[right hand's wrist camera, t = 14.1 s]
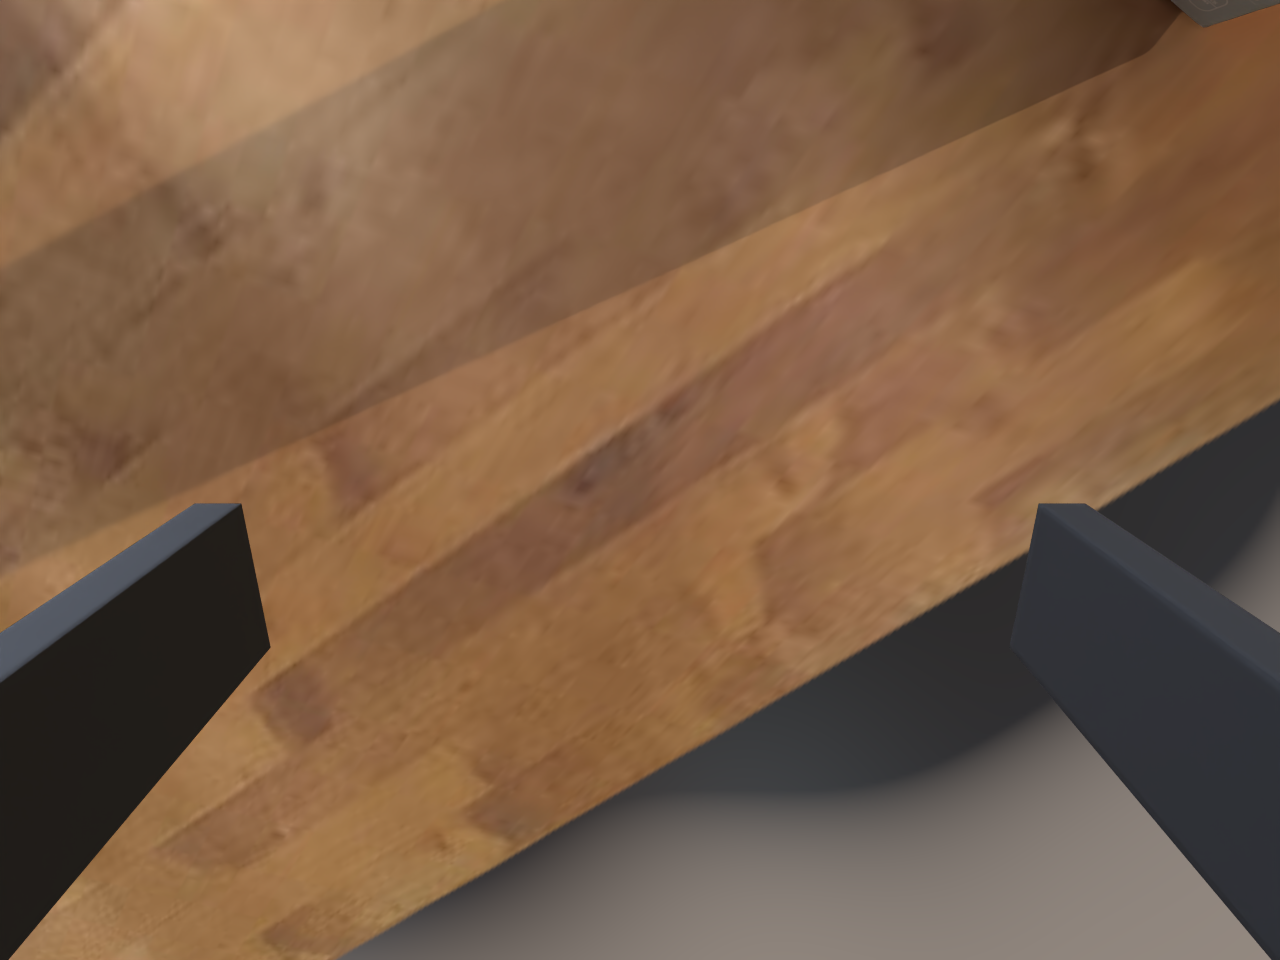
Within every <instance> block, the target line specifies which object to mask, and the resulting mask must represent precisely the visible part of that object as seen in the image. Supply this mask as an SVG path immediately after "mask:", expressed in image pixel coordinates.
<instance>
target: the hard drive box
mask: <svg viewBox="0 0 1280 960" xmlns="http://www.w3.org/2000/svg"><path fill="white" fill-rule="evenodd" d="M1171 1H1172V2H1173V3H1174V4H1175V5H1177V6H1178V7H1179V8H1180V9H1181V10H1182V11H1183V12H1185V13H1186V14H1187V15H1188V16H1189V17H1190V18H1192V19H1193V20H1194V21H1195V22H1196V23H1198V24H1199V25H1200V26H1202V27H1209V26H1211V25H1214V24H1217V23H1220V22H1223V21H1227V20H1230V19H1233V18H1236V17H1239V16H1242V15H1245V14H1248V13H1251V12H1254V11H1257V10H1260V9H1263V8H1267V7H1270V6H1273V5H1276V4H1279V3H1280V0H1171Z"/></svg>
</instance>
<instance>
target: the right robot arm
mask: <svg viewBox="0 0 1280 960" xmlns="http://www.w3.org/2000/svg"><path fill="white" fill-rule="evenodd" d="M269 649H270V642H269V637H268V633H267V628H266V623H265V618H264V613H263V608H262V603H261V598H260V593H259V588H258V583H257V578H256V574H255V569H254V564H253V559H252V554H251V549H250V544H249V539H248V534H247V529H246V524H245V519H244V515H243V510H242V505H241V504H193V505H192V506H190V507H189V508H187V509H186V510H184V511H183V512H181V513H180V514H178V515H177V516H175V517H174V518H172V519H171V520H169V521H168V522H166V523H165V524H163V525H162V526H160V527H159V528H157V529H156V530H154V531H153V532H151V533H150V534H148V535H147V536H145V537H144V538H142V539H141V540H139V541H138V542H136V543H135V544H133V545H132V546H130V547H129V548H127V549H126V550H124V551H123V552H121V553H120V554H118V555H117V556H115V557H114V558H112V559H111V560H109V561H108V562H106V563H105V564H103V565H102V566H100V567H99V568H97V569H96V570H94V571H93V572H91V573H90V574H88V575H87V576H85V577H84V578H82V579H81V580H79V581H78V582H76V583H75V584H73V585H72V586H70V587H69V588H67V589H66V590H64V591H63V592H61V593H60V594H58V595H57V596H55V597H54V598H52V599H51V600H49V601H48V602H46V603H45V604H43V605H42V606H40V607H39V608H37V609H36V610H34V611H33V612H31V613H30V614H28V615H27V616H25V617H24V618H22V619H21V620H19V621H18V622H16V623H15V624H13V625H12V626H10V627H9V628H7V629H6V630H4V631H3V632H1V633H0V960H9V958H10V957H11V956H12V955H13V954H14V952H15V951H16V950H17V949H18V948H19V947H20V945H21V944H22V943H23V942H24V941H25V939H26V938H27V937H28V936H29V935H30V933H31V932H32V931H33V930H34V929H35V927H36V926H37V925H38V924H39V923H40V921H41V920H42V919H43V918H44V917H45V916H46V914H47V913H48V912H49V911H50V910H51V908H52V907H53V906H54V905H55V904H56V902H57V901H58V900H59V899H60V898H61V896H62V895H63V894H64V893H65V892H66V891H67V889H68V888H69V887H70V886H71V885H72V883H73V882H74V881H75V880H76V879H77V877H78V876H79V875H80V874H81V873H82V871H83V870H84V869H85V868H86V867H87V865H88V864H89V863H90V862H91V861H92V860H93V858H94V857H95V856H96V855H97V854H98V852H99V851H100V850H101V849H102V848H103V846H104V845H105V844H106V843H107V842H108V840H109V839H110V838H111V837H112V836H113V835H114V833H115V832H116V831H117V830H118V829H119V827H120V826H121V825H122V824H123V823H124V821H125V820H126V819H127V818H128V817H129V815H130V814H131V813H132V812H133V811H134V809H135V808H136V807H137V806H138V805H139V804H140V802H141V801H142V800H143V799H144V798H145V796H146V795H147V794H148V793H149V792H150V790H151V789H152V788H153V787H154V786H155V784H156V783H157V782H158V781H159V780H160V779H161V777H162V776H163V775H164V774H165V773H166V771H167V770H168V769H169V768H170V767H171V765H172V764H173V763H174V762H175V761H176V759H177V758H178V757H179V756H180V755H181V753H182V752H183V751H184V750H185V749H186V748H187V746H188V745H189V744H190V743H191V742H192V740H193V739H194V738H195V737H196V736H197V734H198V733H199V732H200V731H201V730H202V728H203V727H204V726H205V725H206V724H207V723H208V721H209V720H210V719H211V718H212V717H213V715H214V714H215V713H216V712H217V711H218V709H219V708H220V707H221V706H222V705H223V703H224V702H225V701H226V700H227V699H228V697H229V696H230V695H231V694H232V693H233V692H234V690H235V689H236V688H237V687H238V686H239V684H240V683H241V682H242V681H243V680H244V678H245V677H246V676H247V675H248V674H249V672H250V671H251V670H252V669H253V668H254V666H255V665H256V664H257V663H258V662H259V661H260V659H261V658H262V657H263V656H264V655H265V653H266V652H267V651H268V650H269ZM1010 649H1011V650H1012V651H1013V652H1014V653H1015V654H1016V656H1017V657H1018V658H1019V659H1020V661H1021V662H1022V663H1023V664H1024V665H1025V666H1026V668H1027V669H1028V670H1029V671H1030V672H1031V674H1032V675H1033V676H1034V677H1035V678H1036V680H1037V681H1038V682H1039V683H1040V684H1041V685H1042V687H1043V688H1044V689H1045V690H1046V691H1047V693H1048V694H1049V695H1050V696H1051V697H1052V699H1053V700H1054V701H1055V702H1056V703H1057V705H1058V706H1059V707H1060V708H1061V709H1062V711H1063V712H1064V713H1065V714H1066V715H1067V716H1068V718H1069V719H1070V720H1071V721H1072V723H1073V724H1074V725H1075V726H1076V727H1077V728H1078V730H1079V731H1080V732H1081V733H1082V734H1083V736H1084V737H1085V738H1086V739H1087V740H1088V742H1089V743H1090V744H1091V745H1092V746H1093V748H1094V749H1095V750H1096V751H1097V752H1098V753H1099V755H1100V756H1101V757H1102V758H1103V759H1104V761H1105V762H1106V763H1107V764H1108V765H1109V767H1110V768H1111V769H1112V770H1113V771H1114V773H1115V774H1116V775H1117V776H1118V777H1119V779H1120V780H1121V781H1122V782H1123V783H1124V784H1125V786H1126V787H1127V788H1128V789H1129V790H1130V792H1131V793H1132V794H1133V795H1134V796H1135V798H1136V799H1137V800H1138V801H1139V802H1140V804H1141V805H1142V806H1143V807H1144V808H1145V809H1146V811H1147V812H1148V813H1149V814H1150V815H1151V817H1152V818H1153V819H1154V820H1155V821H1156V822H1157V824H1158V825H1159V826H1160V827H1161V829H1162V830H1163V831H1164V832H1165V833H1166V834H1167V836H1168V837H1169V838H1170V839H1171V840H1172V842H1173V843H1174V844H1175V845H1176V846H1177V848H1178V849H1179V850H1180V851H1181V852H1182V854H1183V855H1184V856H1185V857H1186V858H1187V860H1188V861H1189V862H1190V863H1191V864H1192V865H1193V867H1194V868H1195V869H1196V870H1197V871H1198V873H1199V874H1200V875H1201V876H1202V877H1203V878H1204V880H1205V881H1206V882H1207V883H1208V885H1209V886H1210V887H1211V888H1212V889H1213V891H1214V892H1215V893H1216V894H1217V895H1218V896H1219V898H1220V899H1221V900H1222V901H1223V902H1224V904H1225V905H1226V906H1227V907H1228V908H1229V910H1230V911H1231V912H1232V913H1233V914H1234V916H1235V917H1236V918H1237V919H1238V920H1239V921H1240V923H1241V924H1242V925H1243V926H1244V927H1245V929H1246V930H1247V931H1248V932H1249V933H1250V935H1251V936H1252V937H1253V938H1254V939H1255V941H1256V942H1257V943H1258V944H1259V945H1260V947H1261V948H1262V949H1263V950H1264V951H1265V952H1266V954H1267V955H1268V956H1269V957H1270V958H1271V960H1280V633H1279V632H1277V631H1276V630H1274V629H1273V628H1271V627H1270V626H1268V625H1267V624H1265V623H1264V622H1262V621H1261V620H1259V619H1258V618H1256V617H1255V616H1253V615H1252V614H1250V613H1249V612H1247V611H1246V610H1244V609H1243V608H1241V607H1240V606H1238V605H1237V604H1235V603H1234V602H1232V601H1231V600H1229V599H1228V598H1226V597H1225V596H1223V595H1222V594H1220V593H1219V592H1217V591H1216V590H1214V589H1213V588H1211V587H1210V586H1208V585H1207V584H1205V583H1204V582H1202V581H1201V580H1199V579H1198V578H1196V577H1195V576H1193V575H1192V574H1190V573H1189V572H1187V571H1186V570H1184V569H1183V568H1181V567H1180V566H1178V565H1177V564H1175V563H1174V562H1172V561H1171V560H1169V559H1168V558H1166V557H1165V556H1163V555H1162V554H1160V553H1159V552H1157V551H1156V550H1154V549H1153V548H1151V547H1150V546H1148V545H1147V544H1145V543H1144V542H1142V541H1141V540H1139V539H1138V538H1136V537H1135V536H1133V535H1132V534H1130V533H1129V532H1127V531H1126V530H1124V529H1123V528H1121V527H1120V526H1118V525H1117V524H1115V523H1114V522H1112V521H1111V520H1109V519H1108V518H1106V517H1105V516H1103V515H1102V514H1100V513H1099V512H1097V511H1096V510H1094V509H1093V508H1091V507H1090V506H1088V505H1087V504H1039V505H1038V510H1037V515H1036V519H1035V524H1034V529H1033V534H1032V539H1031V544H1030V549H1029V554H1028V559H1027V564H1026V569H1025V574H1024V579H1023V583H1022V588H1021V593H1020V598H1019V603H1018V608H1017V613H1016V618H1015V623H1014V628H1013V633H1012V637H1011V642H1010Z"/></svg>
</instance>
